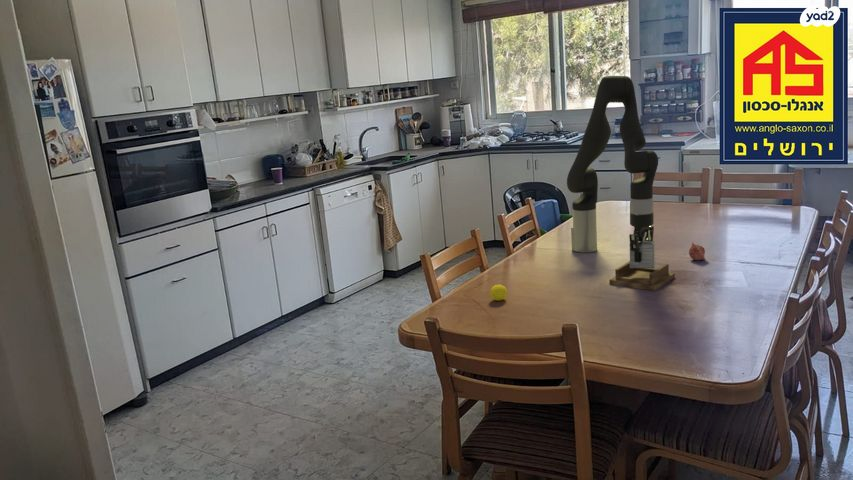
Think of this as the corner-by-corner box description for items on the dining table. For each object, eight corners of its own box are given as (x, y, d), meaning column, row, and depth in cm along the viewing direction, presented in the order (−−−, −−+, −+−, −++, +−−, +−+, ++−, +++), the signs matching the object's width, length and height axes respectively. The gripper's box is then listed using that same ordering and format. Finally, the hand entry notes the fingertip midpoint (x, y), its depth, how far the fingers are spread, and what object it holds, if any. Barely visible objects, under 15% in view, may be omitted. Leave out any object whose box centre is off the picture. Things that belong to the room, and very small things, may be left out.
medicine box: (654, 265, 227) (654, 240, 225) (654, 268, 223) (654, 243, 221) (630, 264, 229) (630, 240, 227) (629, 268, 225) (629, 243, 223)
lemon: (496, 297, 225) (496, 282, 224) (510, 299, 222) (510, 283, 221) (486, 301, 219) (486, 285, 219) (500, 303, 216) (500, 287, 216)
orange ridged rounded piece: (683, 246, 242) (696, 237, 241) (683, 249, 249) (696, 240, 248) (697, 264, 239) (710, 255, 238) (697, 266, 246) (710, 258, 245)
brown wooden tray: (609, 283, 227) (609, 269, 226) (630, 271, 238) (630, 257, 237) (654, 291, 216) (654, 276, 215) (674, 277, 228) (674, 263, 226)
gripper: (640, 205, 229) (640, 253, 233) (621, 214, 219) (622, 263, 223) (661, 207, 224) (661, 255, 228) (642, 216, 214) (643, 266, 218)
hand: (642, 259), depth 225 cm, fingers closed on medicine box, 5 cm apart
